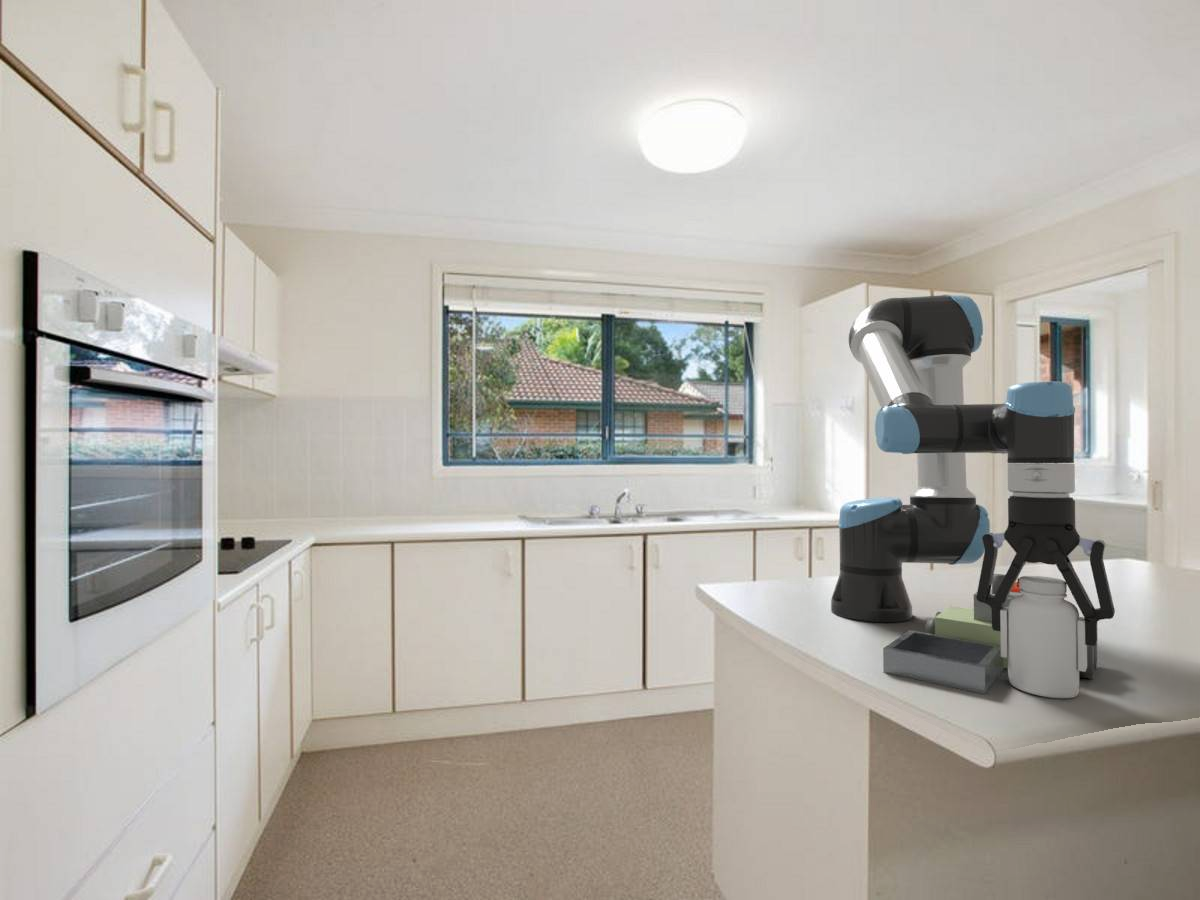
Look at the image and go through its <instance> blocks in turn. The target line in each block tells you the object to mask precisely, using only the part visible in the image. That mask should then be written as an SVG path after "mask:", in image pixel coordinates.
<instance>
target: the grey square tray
mask: <svg viewBox="0 0 1200 900" xmlns="http://www.w3.org/2000/svg"><path fill="white" fill-rule="evenodd" d="M882 654H883V655H882V657H883V658H882V662H883V664H882V665H883V667H882V669H883V671H882V672H883V673H887V674H891V675H895V676H899V677H905V678H910V679H914V680H918V681H923V682H927V683H931V684H935V685H941V686H946V687H950V688H955V689H960V690H965V691H969V692H973V693H978V694H982V695H986V694H987V692H988V691H989V690H990V689H991V687H992V685H994V683H995V682H996V680H997V679H998V678H999V676H1000V675H1001V674H1002V672H1003V671H1004V670H1005V669H1004V657H1001V646H1000V645H994V644H988V643H982V642H976V641H971V640H965V639H959V638H953V637H947V636H941V635H935V634H929V633H925V631H924V632H923V631H918V630H917V631H916V630H912V629H909V630H908V631H907V632H905V633H903V634H901V636H899V637H898V638H896V639H895V640H893V641H892V642H890V643H888V644H887V645H885V646H884V647H883V649H882Z"/></svg>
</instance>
